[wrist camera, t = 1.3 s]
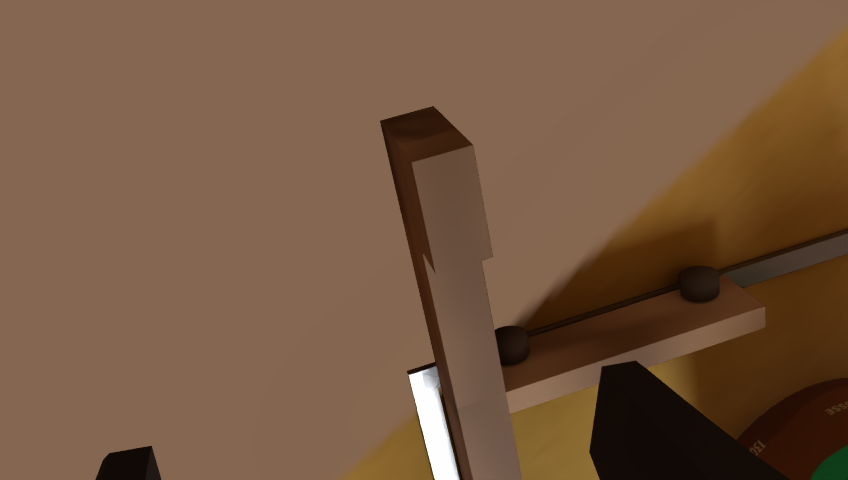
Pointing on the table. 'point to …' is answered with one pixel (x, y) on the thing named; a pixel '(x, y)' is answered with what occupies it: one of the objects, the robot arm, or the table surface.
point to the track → (742, 274)
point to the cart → (509, 346)
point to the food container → (805, 433)
